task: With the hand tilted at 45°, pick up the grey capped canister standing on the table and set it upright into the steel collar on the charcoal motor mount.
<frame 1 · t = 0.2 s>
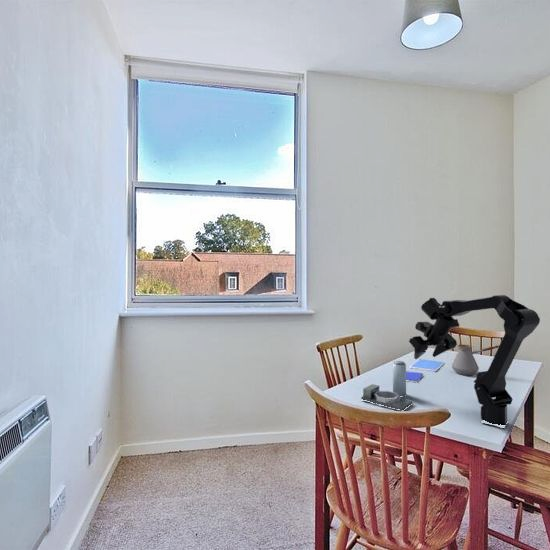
hand: (424, 357, 144), 14 cm above the table, tool tilted 35°, fingers open, 9 cm apart
hard drive: (410, 379, 165), on the table
grey capped canister: (399, 395, 143), on the table
coffee pot: (476, 375, 168), on the table
motor mount: (386, 402, 135), on the table
tablet computer: (427, 367, 184), on the table
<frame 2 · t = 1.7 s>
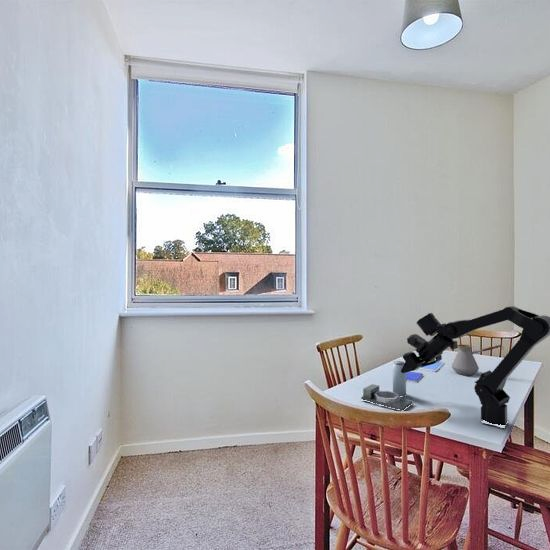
hand: (408, 369, 139), 11 cm above the table, tool tilted 45°, fingers open, 9 cm apart
nothing on the table moved.
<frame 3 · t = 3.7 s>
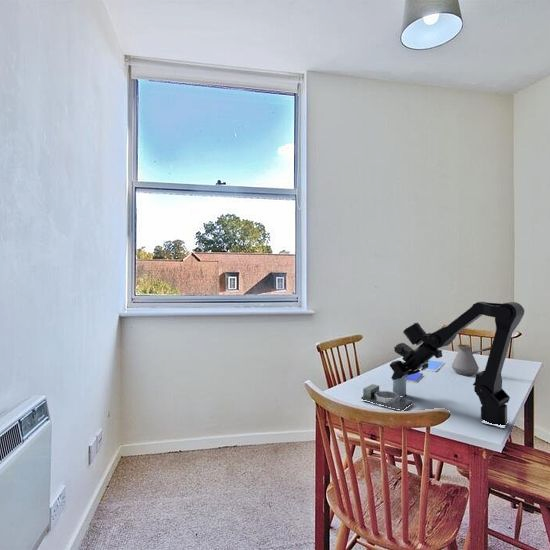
hand: (396, 377, 144), 7 cm above the table, tool tilted 45°, fingers closed on grey capped canister, 5 cm apart
grey capped canister: (399, 394, 143), on the table, touching gripper
everything else where it was.
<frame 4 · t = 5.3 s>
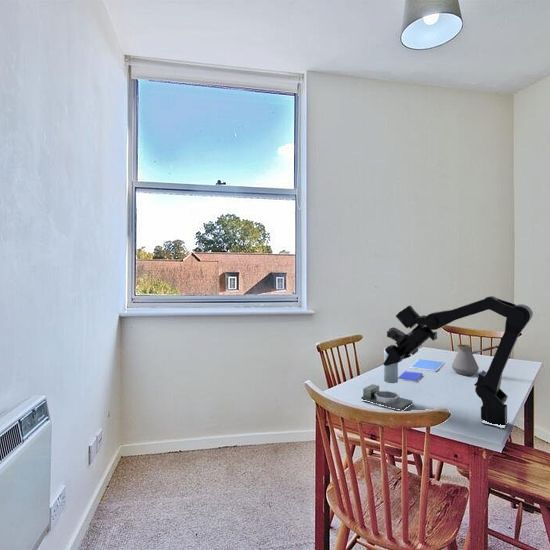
hand: (387, 363, 139), 13 cm above the table, tool tilted 45°, fingers closed on grey capped canister, 5 cm apart
grey capped canister: (391, 381, 138), point 7 cm above the table, touching gripper
everything else where it was.
when the fingers open (9 cm above the table, at t = 6.9 s): grey capped canister drops 1 cm, resting on motor mount.
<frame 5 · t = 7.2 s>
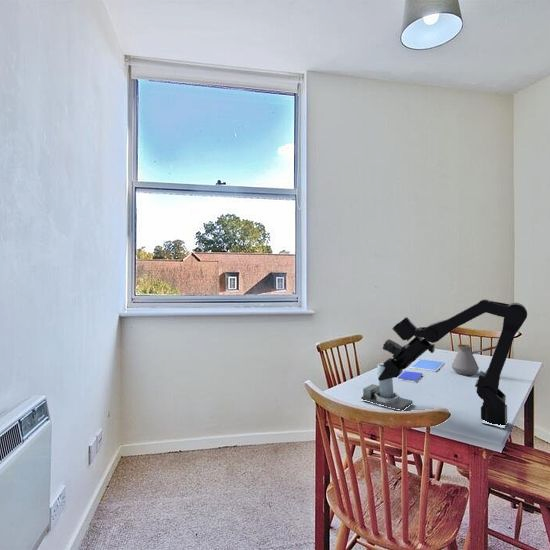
hand: (382, 376, 135), 10 cm above the table, tool tilted 45°, fingers open, 8 cm apart
grey capped canister: (386, 398, 135), point 2 cm above the table, touching motor mount
everything else where it was.
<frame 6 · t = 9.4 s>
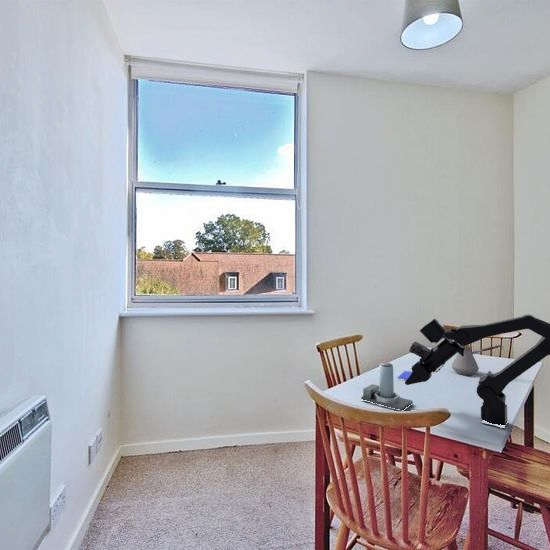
hand: (408, 380, 130), 10 cm above the table, tool tilted 45°, fingers open, 9 cm apart
nothing on the table moved.
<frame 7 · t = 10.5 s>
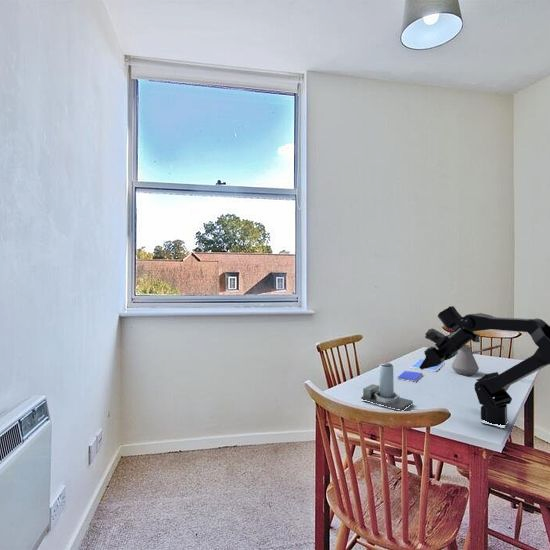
hand: (425, 365, 134), 14 cm above the table, tool tilted 45°, fingers open, 9 cm apart
nothing on the table moved.
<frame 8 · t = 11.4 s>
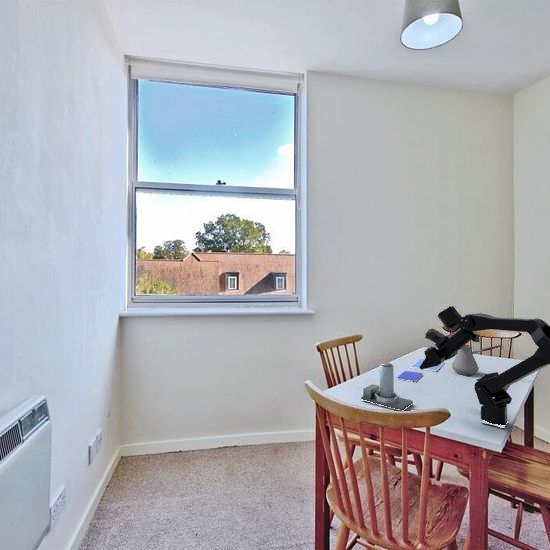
hand: (425, 365, 134), 14 cm above the table, tool tilted 45°, fingers open, 9 cm apart
nothing on the table moved.
at the end: grey capped canister 0.1 cm off-centre on the motor mount, point 1.5 cm above the motor mount's base; grey capped canister tilted 0°; the gripper is holding nothing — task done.
